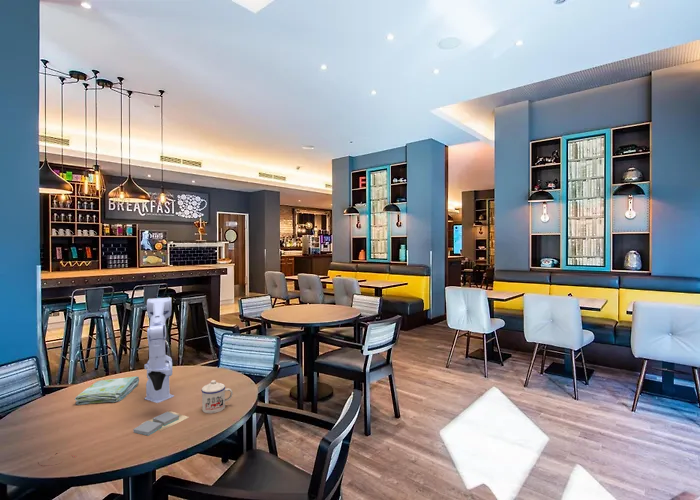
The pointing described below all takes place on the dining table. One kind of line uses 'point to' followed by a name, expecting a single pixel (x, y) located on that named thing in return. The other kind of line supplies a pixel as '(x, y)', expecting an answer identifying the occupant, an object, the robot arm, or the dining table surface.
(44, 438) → the dining table surface
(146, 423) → the tile
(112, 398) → the towel
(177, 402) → the dining table surface
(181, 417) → the beige square board
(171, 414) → the tile
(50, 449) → the dining table surface
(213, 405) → the teacup with lid
